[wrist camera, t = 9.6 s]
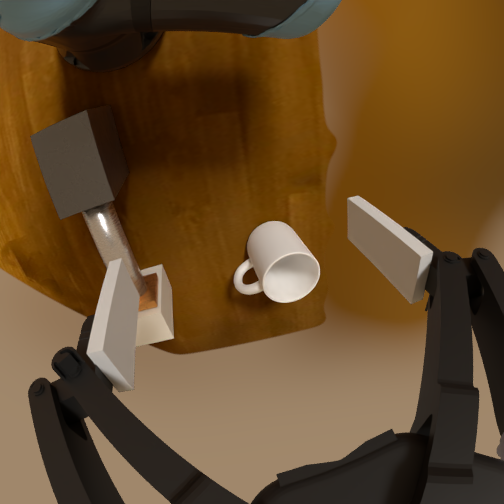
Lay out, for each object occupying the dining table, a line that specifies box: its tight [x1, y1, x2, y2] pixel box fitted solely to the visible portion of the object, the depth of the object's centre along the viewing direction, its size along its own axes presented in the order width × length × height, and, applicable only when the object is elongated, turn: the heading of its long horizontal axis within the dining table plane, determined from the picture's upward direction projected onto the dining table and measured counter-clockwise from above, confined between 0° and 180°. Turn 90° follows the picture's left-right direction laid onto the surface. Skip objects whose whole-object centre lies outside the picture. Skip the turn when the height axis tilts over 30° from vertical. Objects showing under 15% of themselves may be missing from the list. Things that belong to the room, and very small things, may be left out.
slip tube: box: [82, 201, 158, 311], centre depth 35 cm, size 20×6×6 cm, turn 10°
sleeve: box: [30, 105, 129, 220], centre depth 30 cm, size 10×7×11 cm
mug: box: [234, 221, 320, 303], centre depth 44 cm, size 12×8×10 cm
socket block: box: [136, 264, 174, 347], centre depth 42 cm, size 5×7×12 cm
